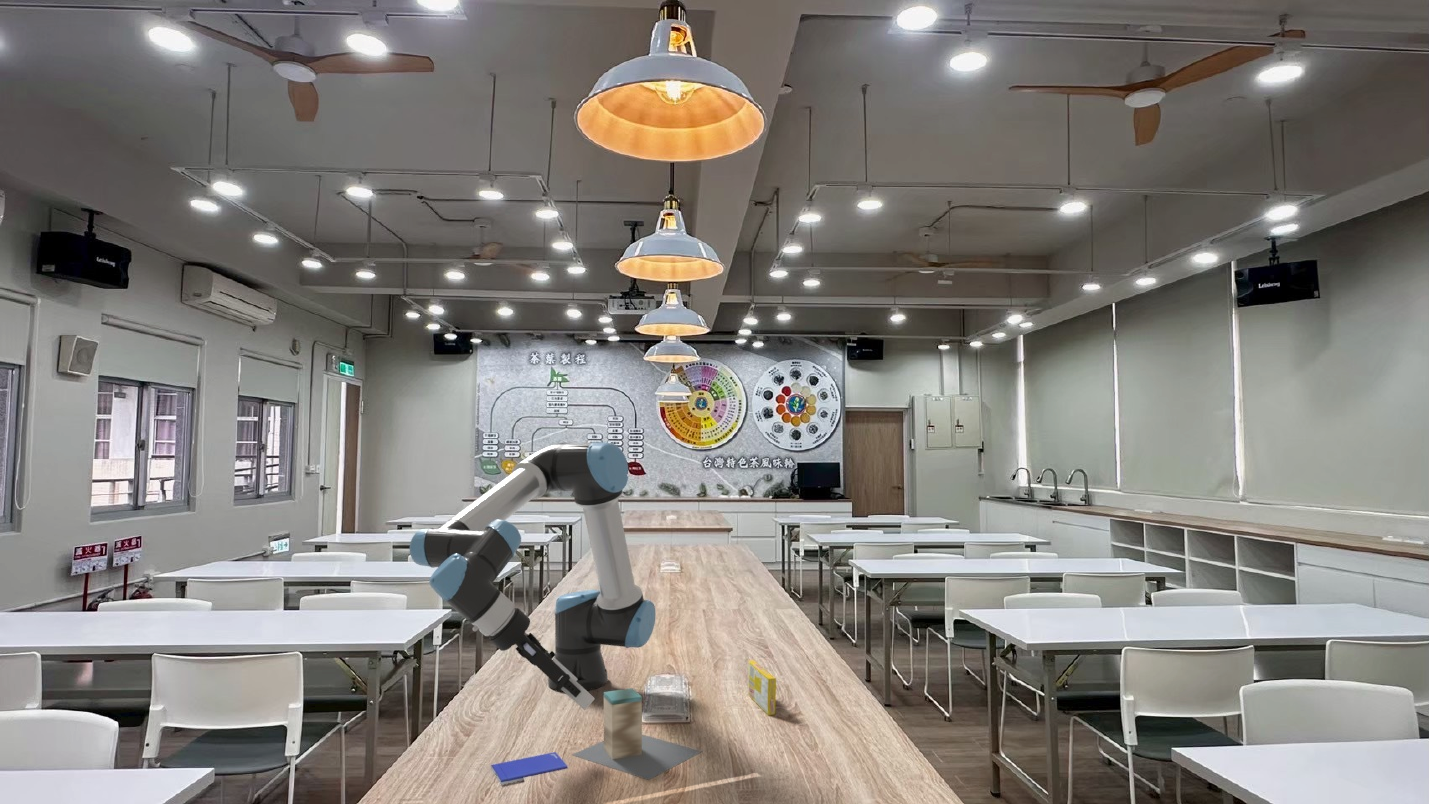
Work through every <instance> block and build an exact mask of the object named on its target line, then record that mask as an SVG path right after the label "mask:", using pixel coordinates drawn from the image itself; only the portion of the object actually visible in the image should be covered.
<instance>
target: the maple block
mask: <svg viewBox="0 0 1429 804" xmlns="http://www.w3.org/2000/svg"><path fill="white" fill-rule="evenodd" d="M642 698H643V697H642V695H641V694H640V693H638V692H637V690H635V689H634V688H632V687H631V688H625V689H618V690H617V689H616V690H609V691H603V741H604V749H605V751H606V752H607V753H608V755H609V756H610V757H611V758H612V759H617V758H623V757H628V756H634V755H640V754H642V735H643V728H642V727H643V726H642V725H643V724H642V723H643V722H642V721H643V719H642V717H643V716H642V715H643V710H642V707H643V706H642V705H643V703H642Z"/></svg>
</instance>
